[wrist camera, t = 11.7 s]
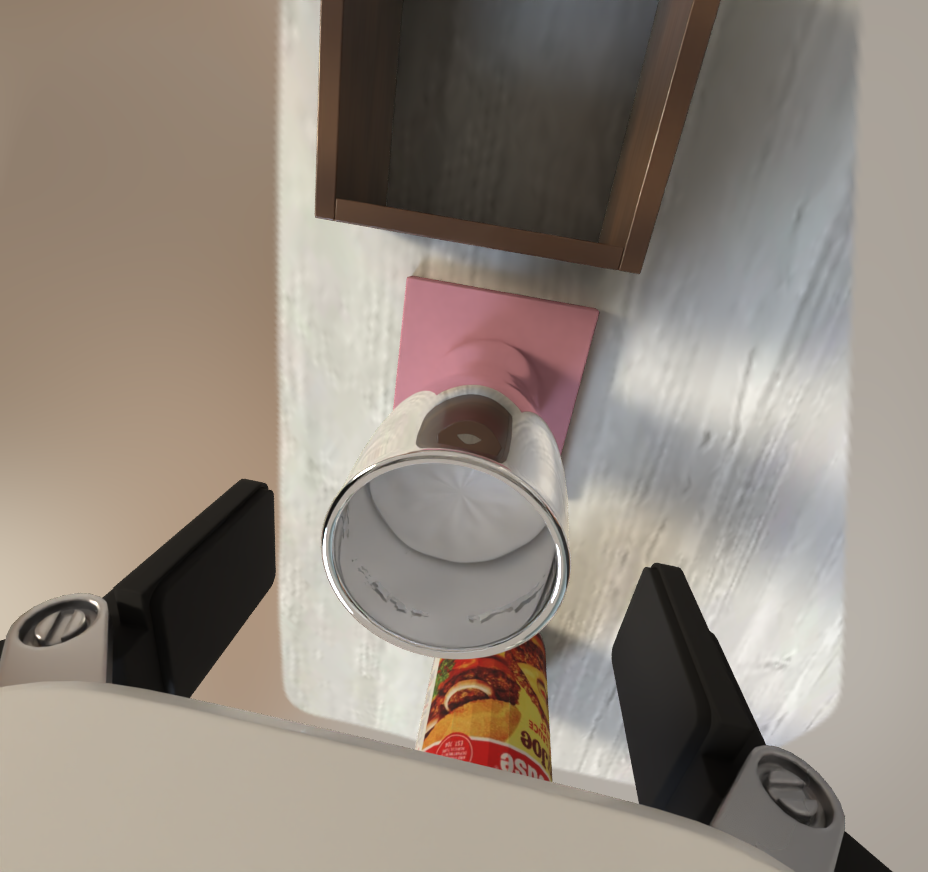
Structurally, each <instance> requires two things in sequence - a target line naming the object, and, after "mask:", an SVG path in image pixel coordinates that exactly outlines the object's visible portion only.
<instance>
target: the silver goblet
mask: <svg viewBox="0 0 928 872" xmlns="http://www.w3.org/2000/svg"><path fill="white" fill-rule="evenodd" d="M540 400H541V388H540V382H539V379H538V376H537V373H536V371H535V369H534V367H533V366H532V364H531V363H530V361H529V360H528V359H527V358H526V357H525V356H524V355H523V354H522V353H521V352H519V351H518V350H517V349H515V348H513V347H512V346H510V345H507V344H505V343H502V342H498V341H493V340H476V341H471V342H467V343H464V344H462V345H460V346H458V347H456V348H454V349H453V350H451V351H450V352H449V353H448V354H447V355H446V356H445V357H444V358H443V359H442V360H441V361H440V363H439V364H438V366H437V368H436V370H435V372H434V374H433V377H432V380H431V383H429V384H427V385H425V386H424V387H422V388H420V389H419V390H417V391H416V392H415V393H413V394H412V395H410V396H409V397H408V398H406V399H405V400H404V401H402V402H401V403H400V404H399V405H398V406H397V407H396V408H395V409H394V410H393V411H392V412H391V413H390V415H389V416H388V417H387V418H386V419H385V420H384V421H383V422H382V423H381V425H380V426H379V427H378V428H377V430H376V431H375V433H374V434H373V436H372V437H371V438H370V440H369V441H368V443H367V444H366V446H365V447H364V449H363V450H362V452H361V454H360V456H359V457H358V459H357V461H356V463H355V464H354V466H353V468H352V470H351V472H350V474H349V476H348V477H347V479H346V481H345V483H344V485H343V487H342V488H341V490H340V491H339V492H338V494H337V495H336V496H335V498H334V500H333V501H332V503H331V505H330V507H329V509H328V511H327V514H326V517H325V520H324V524H323V528H322V535H321V553H322V560H323V565H324V569H325V572H326V575H327V578H328V580H329V582H330V585H331V587H332V589H333V590H334V592H335V594H336V596H337V597H338V599H339V600H340V602H341V603H342V604H343V606H344V607H345V608H346V609H347V610H348V612H349V613H350V614H351V615H352V616H353V617H354V618H355V619H356V620H357V621H358V622H359V623H361V624H362V625H363V626H364V627H365V628H367V629H368V630H369V631H371V632H372V633H374V634H375V635H377V636H378V637H380V638H382V639H383V640H385V641H387V642H389V643H391V644H393V645H395V646H397V647H400V648H402V649H405V650H407V651H410V652H413V653H417V654H420V655H425V656H429V657H435V658H442V659H475V658H482V657H488V656H492V655H496V654H499V653H502V652H505V651H508V650H510V649H513V648H515V647H517V646H519V645H521V644H523V643H524V642H526V641H528V640H529V639H531V638H532V637H533V636H535V635H536V634H537V633H539V632H540V631H541V630H542V629H543V628H544V627H545V626H546V625H547V624H548V623H549V622H550V621H551V619H552V618H553V617H554V616H555V614H556V613H557V611H558V610H559V608H560V606H561V604H562V602H563V600H564V598H565V595H566V592H567V589H568V585H569V580H570V573H571V557H570V549H569V519H568V497H567V488H566V479H565V473H564V468H563V464H562V460H561V456H560V452H559V448H558V445H557V442H556V440H555V438H554V435H553V433H552V431H551V429H550V427H549V425H548V423H547V422H546V420H545V418H544V416H543V415H542V413H541V412H540V410H539V406H540Z"/></svg>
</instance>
